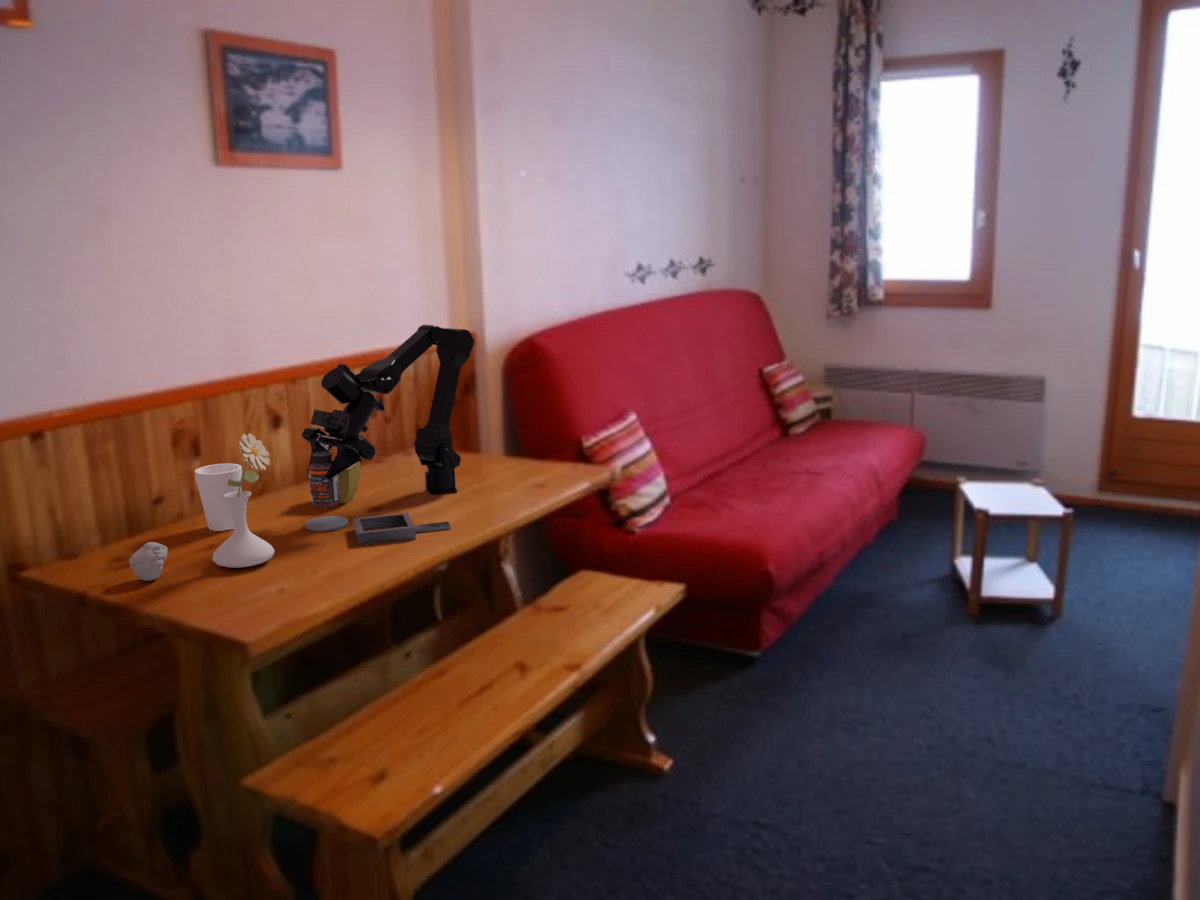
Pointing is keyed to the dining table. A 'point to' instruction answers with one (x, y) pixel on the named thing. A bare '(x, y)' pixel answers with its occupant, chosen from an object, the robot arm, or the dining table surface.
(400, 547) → the dining table surface
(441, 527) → the square pan with handle
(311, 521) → the coaster
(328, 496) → the supplement bottle
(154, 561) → the lumpy white ball
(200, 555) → the dining table surface
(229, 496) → the flower in vase
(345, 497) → the flower pot
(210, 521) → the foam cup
